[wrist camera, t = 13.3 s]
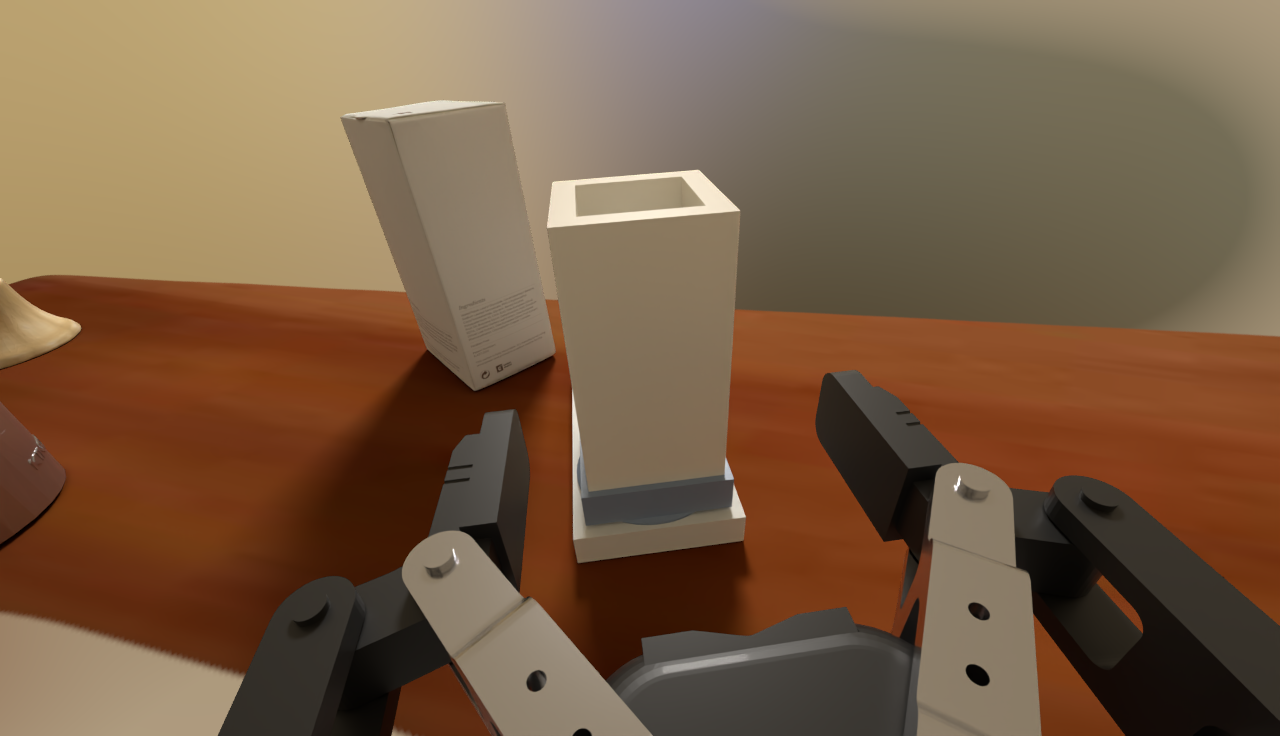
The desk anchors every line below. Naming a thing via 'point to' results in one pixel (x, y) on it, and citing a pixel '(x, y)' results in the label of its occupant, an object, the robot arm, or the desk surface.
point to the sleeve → (648, 338)
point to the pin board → (649, 525)
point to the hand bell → (29, 329)
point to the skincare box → (457, 232)
